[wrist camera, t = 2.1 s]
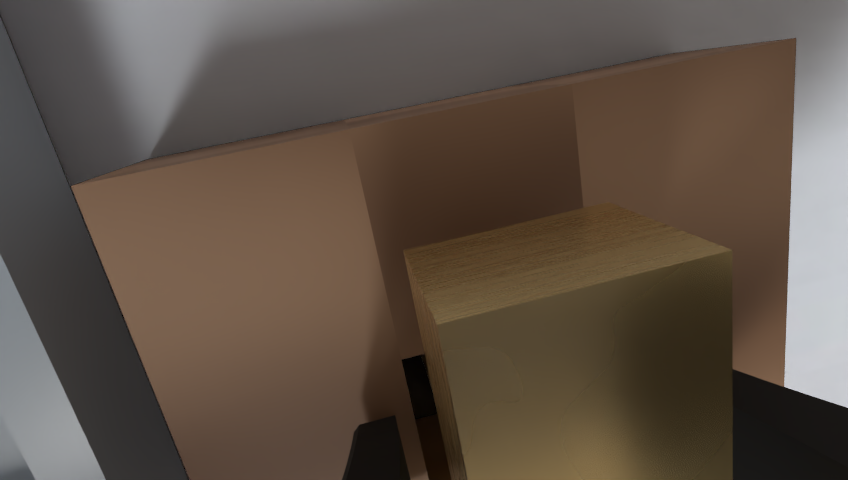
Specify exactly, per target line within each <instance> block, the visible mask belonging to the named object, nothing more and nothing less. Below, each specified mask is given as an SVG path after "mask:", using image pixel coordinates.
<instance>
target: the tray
mask: <svg viewBox="0 0 848 480" xmlns="http://www.w3.org/2000/svg"><path fill="white" fill-rule="evenodd" d="M0 480H188V477H187V475H186V473H185V470H184V468H183V465H182V463H181V460H180V458H179V455H178V453H177V450H176V448H175V445H174V443H173V441H172V438H171V436H170V433H169V431H168V428H167V426H166V423H165V421H164V418H163V416H162V413H161V411H160V408H159V406H158V404H157V401H156V399H155V396H154V394H153V391H152V389H151V386H150V384H149V381H148V379H147V376H146V374H145V372H144V369H143V367H142V364H141V362H140V359H139V357H138V354H137V352H136V349H135V347H134V344H133V342H132V340H131V337H130V335H129V332H128V330H127V327H126V325H125V322H124V320H123V317H122V315H121V312H120V310H119V308H118V305H117V303H116V300H115V298H114V295H113V293H112V290H111V288H110V285H109V283H108V280H107V278H106V276H105V273H104V271H103V268H102V266H101V263H100V261H99V258H98V256H97V253H96V251H95V248H94V246H93V243H92V241H91V239H90V236H89V234H88V231H87V229H86V226H85V224H84V221H83V219H82V216H81V214H80V211H79V209H78V207H77V204H76V202H75V199H74V197H73V194H72V192H71V189H70V187H69V184H68V182H67V179H66V177H65V175H64V172H63V170H62V167H61V165H60V162H59V160H58V157H57V155H56V152H55V150H54V147H53V145H52V143H51V140H50V138H49V135H48V133H47V130H46V128H45V125H44V123H43V120H42V118H41V115H40V113H39V111H38V108H37V106H36V103H35V101H34V98H33V96H32V93H31V91H30V88H29V86H28V83H27V81H26V79H25V76H24V74H23V71H22V69H21V66H20V64H19V61H18V59H17V56H16V54H15V51H14V49H13V46H12V44H11V42H10V39H9V37H8V34H7V32H6V29H5V27H4V24H3V22H2V19H1V17H0Z"/></svg>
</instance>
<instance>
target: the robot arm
mask: <svg viewBox="0 0 848 480" xmlns="http://www.w3.org/2000/svg"><path fill="white" fill-rule="evenodd" d="M342 480H411V479H410V475H409V471H408V467H407V463H406V459H405V454H404V450H403V446H402V442H401V438H400V434H399V429H398V425H397V421H396V417H395V415H393V416H390V417H386V418H382V419H379V420H375V421H371V422H368V423H364V424H360V425H359V426H358V427H357V429H356V430H355V431H354V434H353V440H352V445H351V449H350V453H349V457H348V461H347V465H346V468H345V472H344V475H343V478H342ZM733 480H848V408H846V407H843V406H840V405H837V404H834V403H831V402H828V401H824V400H821V399H818V398H815V397H812V396H809V395H806V394H803V393H800V392H797V391H794V390H791V389H788V388H786V387H783V386H780V385H777V384H774V383H771V382H768V381H765V380H762V379H760V378H757V377H754V376H751V375H748V374H746V373H743V372H740V371H737V370H734V369H733Z"/></svg>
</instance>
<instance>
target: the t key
mask: <svg viewBox="0 0 848 480" xmlns="http://www.w3.org/2000/svg"><path fill="white" fill-rule="evenodd" d="M403 253H404V257H405V262H406V267H407V272H408V276H409V281H410V286H411V291H412V295H413V300H414V305H415V310H416V314H417V319H418V324H419V329H420V333H421V338H422V343H423V348H424V352H425V354H421V355H420V356H421V359H422V362H423V365H424V368H425V371H426V374H427V377H428V380H429V383H430V386H431V388H432V391H433V395H434V400H435V405H436V409H437V414H438V419H439V424H440V428H441V433H442V438H443V443H444V448H445V452H446V457H447V462H448V467H449V471H450V476H451V480H733V321H732V250H731V249H729V248H726V247H723V246H721V245H718V244H716V243H713V242H710V241H708V240H705V239H703V238H700V237H698V236H695V235H692V234H690V233H687V232H685V231H682V230H679V229H677V228H674V227H672V226H669V225H666V224H664V223H661V222H659V221H656V220H653V219H651V218H648V217H646V216H643V215H640V214H638V213H635V212H633V211H630V210H627V209H625V208H622V207H620V206H617V205H615V204H612V203H609V202H607V203H602V204H598V205H594V206H590V207H585V208H581V209H577V210H573V211H568V212H564V213H560V214H555V215H551V216H547V217H543V218H538V219H534V220H530V221H525V222H521V223H517V224H513V225H508V226H504V227H500V228H496V229H491V230H487V231H483V232H478V233H474V234H470V235H466V236H461V237H457V238H453V239H448V240H444V241H440V242H436V243H431V244H427V245H423V246H419V247H414V248H410V249H406V250H403Z"/></svg>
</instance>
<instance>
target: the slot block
mask: <svg viewBox="0 0 848 480" xmlns="http://www.w3.org/2000/svg"><path fill="white" fill-rule="evenodd" d="M795 56H796V38H793V39H785V40H777V41H769V42H760V43H752V44H744V45H736V46H728V47H720V48H712V49H704V50H695V51H687V52H679V53H673V54H668V55H663V56H658V57H653V58H648V59H643V60H638V61H633V62H628V63H623V64H618V65H613V66H608V67H603V68H598V69H593V70H588V71H583V72H578V73H573V74H568V75H563V76H559V77H554V78H549V79H544V80H539V81H534V82H529V83H524V84H519V85H514V86H509V87H504V88H499V89H494V90H489V91H484V92H479V93H474V94H469V95H464V96H459V97H454V98H449V99H444V100H440V101H435V102H430V103H425V104H420V105H415V106H410V107H405V108H400V109H395V110H390V111H385V112H380V113H375V114H370V115H365V116H360V117H355V118H350V119H345V120H340V121H335V122H330V123H325V124H320V125H316V126H311V127H306V128H301V129H296V130H291V131H286V132H281V133H276V134H271V135H266V136H261V137H256V138H251V139H246V140H241V141H236V142H231V143H226V144H221V145H216V146H211V147H206V148H201V149H197V150H192V151H187V152H182V153H177V154H172V155H167V156H162V157H157V158H152V159H147V160H144V161H141V162H139V163H136V164H133V165H130V166H127V167H124V168H121V169H118V170H116V171H113V172H110V173H107V174H104V175H101V176H98V177H95V178H93V179H90V180H87V181H84V182H81V183H78V184H75V185H72V186H71V188H72V190H73V193H74V195H75V198H76V200H77V203H78V205H79V208H80V210H81V213H82V215H83V217H84V220H85V222H86V225H87V227H88V230H89V232H90V235H91V237H92V240H93V242H94V245H95V247H96V250H97V252H98V255H99V257H100V259H101V262H102V264H103V267H104V269H105V272H106V274H107V277H108V279H109V282H110V284H111V287H112V289H113V292H114V294H115V296H116V299H117V301H118V304H119V306H120V309H121V311H122V314H123V316H124V319H125V321H126V324H127V326H128V329H129V331H130V334H131V336H132V338H133V341H134V343H135V346H136V348H137V351H138V353H139V356H140V358H141V361H142V363H143V366H144V368H145V371H146V373H147V375H148V378H149V380H150V383H151V385H152V388H153V390H154V393H155V395H156V398H157V400H158V403H159V405H160V408H161V410H162V412H163V415H164V417H165V420H166V422H167V425H168V427H169V430H170V432H171V435H172V437H173V440H174V442H175V445H176V447H177V450H178V452H179V454H180V457H181V459H182V462H183V464H184V467H185V469H186V472H187V474H188V477H189V479H190V480H342V478H343V475H344V472H345V468H346V465H347V461H348V457H349V453H350V449H351V445H352V440H353V434H354V431H355V430H356V429H357V427H358V426H359V425H360V424H364V423H368V422H371V421H375V420H379V419H382V418H386V417H390V416H393V415H395V417H396V421H397V425H398V429H399V434H400V438H401V442H402V446H403V450H404V454H405V459H406V463H407V467H408V471H409V475H410V479H411V480H451V476H450V471H449V467H448V462H447V457H446V452H445V448H444V443H443V438H442V433H441V428H440V424H439V419H438V414H434V415H430V416H427V417H423V418H419V419H416V420H415V417H414V413H413V408H412V404H411V399H410V395H409V391H408V386H407V382H406V377H405V373H404V369H403V364H402V359H406V358H410V357H414V356H418V355H421V354H425V352H424V348H423V343H422V338H421V333H420V329H419V324H418V319H417V314H416V310H415V305H414V300H413V295H412V291H411V286H410V281H409V276H408V272H407V267H406V262H405V257H404V253H403V250H406V249H410V248H414V247H419V246H423V245H427V244H431V243H436V242H440V241H444V240H448V239H453V238H457V237H461V236H466V235H470V234H474V233H478V232H483V231H487V230H491V229H496V228H500V227H504V226H508V225H513V224H517V223H521V222H525V221H530V220H534V219H538V218H543V217H547V216H551V215H555V214H560V213H564V212H568V211H573V210H577V209H581V208H585V207H590V206H594V205H598V204H602V203H607V202H609V203H612V204H615V205H617V206H620V207H622V208H625V209H627V210H630V211H633V212H635V213H638V214H640V215H643V216H646V217H648V218H651V219H653V220H656V221H659V222H661V223H664V224H666V225H669V226H672V227H674V228H677V229H679V230H682V231H685V232H687V233H690V234H692V235H695V236H698V237H700V238H703V239H705V240H708V241H710V242H713V243H716V244H718V245H721V246H723V247H726V248H729V249H731V250H732V321H733V369H734V370H737V371H740V372H743V373H746V374H748V375H751V376H754V377H757V378H760V379H762V380H765V381H768V382H771V383H774V384H777V385H780V386H783V387H784V370H785V341H786V313H787V284H788V256H789V227H790V199H791V170H792V142H793V113H794V85H795Z"/></svg>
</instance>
